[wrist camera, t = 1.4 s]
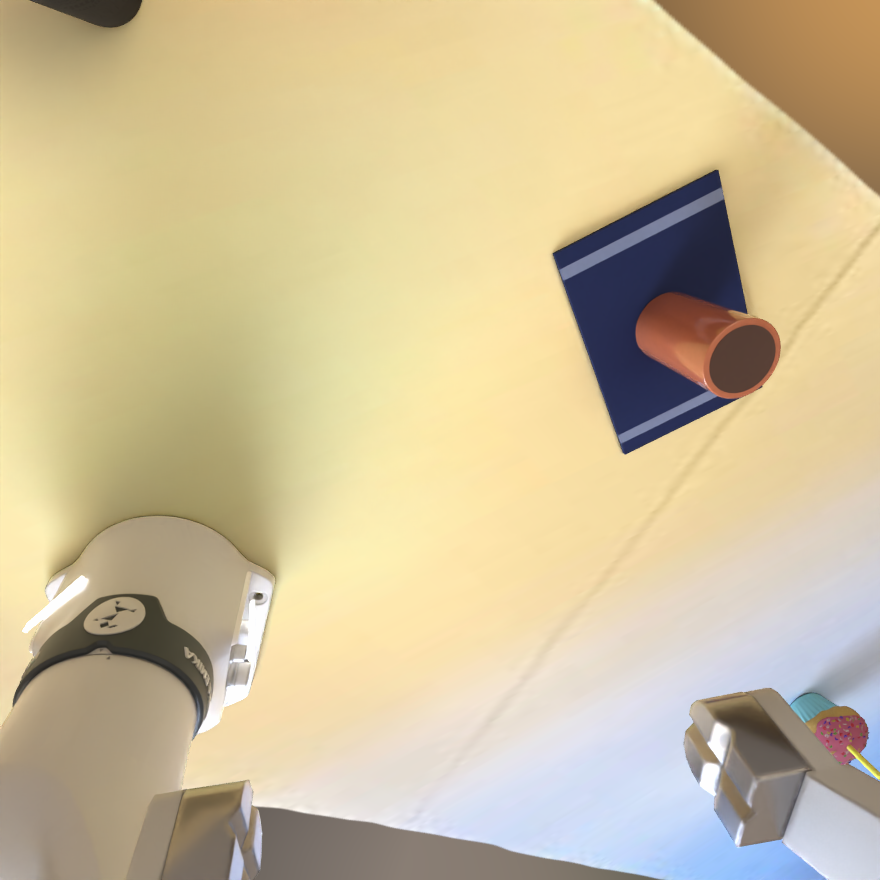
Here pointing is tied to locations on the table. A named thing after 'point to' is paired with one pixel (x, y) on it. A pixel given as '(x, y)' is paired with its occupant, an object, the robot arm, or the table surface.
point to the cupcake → (835, 728)
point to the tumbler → (709, 343)
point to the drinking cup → (96, 10)
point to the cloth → (636, 284)
